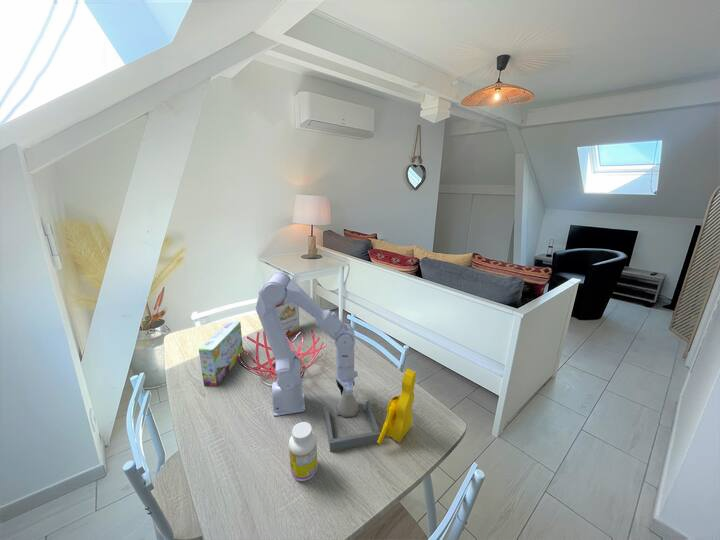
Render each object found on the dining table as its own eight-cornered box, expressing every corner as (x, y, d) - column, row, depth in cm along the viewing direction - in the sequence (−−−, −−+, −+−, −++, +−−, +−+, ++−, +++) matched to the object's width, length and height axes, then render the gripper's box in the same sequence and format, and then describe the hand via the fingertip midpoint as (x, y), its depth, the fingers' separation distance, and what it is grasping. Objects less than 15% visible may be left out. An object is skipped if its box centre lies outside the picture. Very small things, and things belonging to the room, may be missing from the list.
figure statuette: (399, 408, 91) (403, 348, 85) (422, 418, 87) (428, 357, 81) (370, 449, 77) (373, 381, 71) (396, 464, 73) (401, 394, 67)
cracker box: (276, 343, 127) (273, 300, 121) (268, 338, 131) (264, 296, 124) (300, 331, 138) (298, 291, 132) (292, 327, 141) (290, 288, 135)
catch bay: (330, 451, 76) (329, 443, 75) (324, 416, 88) (324, 408, 87) (379, 441, 79) (380, 433, 78) (368, 408, 91) (368, 401, 90)
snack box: (218, 387, 99) (213, 349, 95) (203, 386, 100) (196, 349, 95) (244, 352, 120) (240, 320, 115) (231, 352, 120) (227, 320, 116)
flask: (356, 419, 87) (357, 395, 83) (333, 416, 88) (333, 392, 84) (360, 401, 93) (360, 377, 89) (338, 398, 94) (338, 374, 90)
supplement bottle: (292, 458, 74) (290, 418, 70) (318, 456, 75) (316, 417, 71) (288, 483, 68) (285, 442, 64) (316, 481, 68) (315, 440, 65)
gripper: (363, 375, 83) (362, 412, 87) (352, 348, 96) (352, 381, 100) (339, 379, 81) (339, 416, 85) (332, 351, 94) (332, 384, 98)
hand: (345, 398), depth 92 cm, fingers closed, pressing on flask
